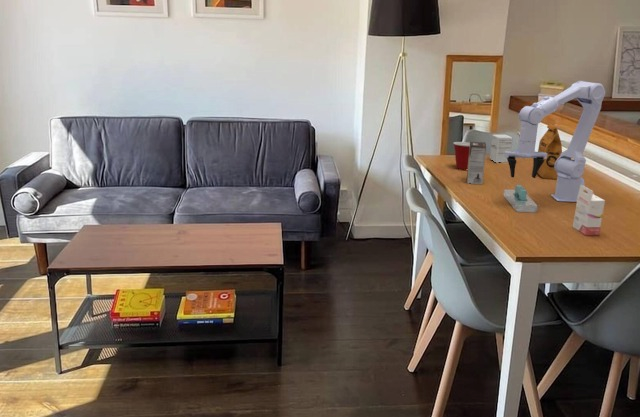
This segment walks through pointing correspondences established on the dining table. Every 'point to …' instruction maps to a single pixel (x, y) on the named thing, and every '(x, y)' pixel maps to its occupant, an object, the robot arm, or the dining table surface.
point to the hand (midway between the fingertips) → (522, 177)
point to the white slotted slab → (520, 202)
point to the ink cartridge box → (588, 212)
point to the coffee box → (476, 162)
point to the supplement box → (500, 147)
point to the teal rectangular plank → (520, 192)
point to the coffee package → (550, 152)
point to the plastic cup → (462, 154)
